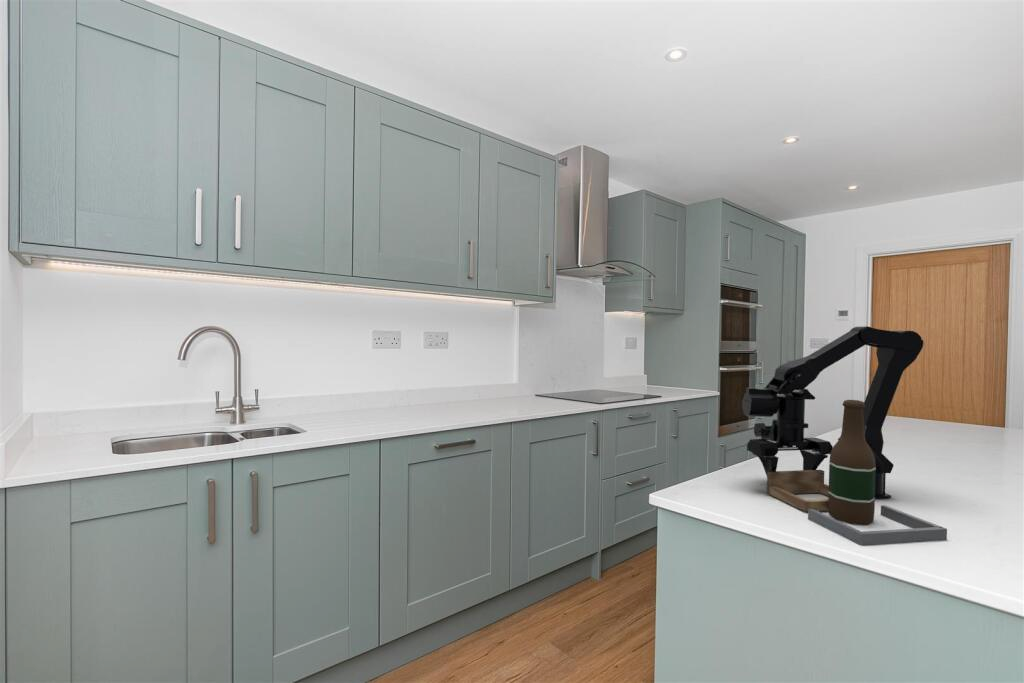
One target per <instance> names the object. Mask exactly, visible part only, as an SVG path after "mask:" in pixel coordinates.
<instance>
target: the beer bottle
mask: <svg viewBox="0 0 1024 683" xmlns="http://www.w3.org/2000/svg"><path fill="white" fill-rule="evenodd" d="M864 402H865V401H862V400H858V399H857V400H856V399H846V400H844V401H843V403H842V406H843V415H842V417H843V418H842V425H841V426H842V427H841V432H840V433H841V434H840V436H841V437H840V436H839V438H840V439H839V438H838V439H839V441H838V440H837V441H836V442H835V444H834V445H833V449H832V451H831V453H830V454H829V463H828V468H829V469H828V485H829V495H827V496H828V497H827V499H828V510H827V511H828V514H829V516H830V517H831V518H833V519H835V520H838V521H840V522H842V523H846V524H851V525H862V526H863V525H864V526H868V525H870V524H871V523H873V522H874V519H875V506H876V505H875V503H876V498H875V476H876V464H875V457H874V454H873V451H872V449H871V448H870V447H869V445H868V444H867V442H866V440H865V434H864V415H863V408H864V407H865V404H864Z"/></svg>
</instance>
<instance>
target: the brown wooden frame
mask: <svg viewBox="0 0 1024 683" xmlns="http://www.w3.org/2000/svg"><path fill="white" fill-rule="evenodd" d="M815 493H820V494H823V495H825V496H828V495H829V484H826V483H825V470H822V469H816V470H803V469H800V470H779V471H778V470H776V471H770V472H767V476H766V494H768V495H770V496H772V497H775V498H777V499H778V500H781V501H783V502H784V503H787V504H789V505H790V506H793V507H795V508H797V509H799V510H801V511H804V512H808V509H814V510H816V511H818V512H820V511H821V512H822V511H823V512H824V511H829V510H828V498H826V499H822V498H821V499H804V498H803V497H800V496H798V495H796V494H815Z"/></svg>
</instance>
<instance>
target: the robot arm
mask: <svg viewBox="0 0 1024 683" xmlns="http://www.w3.org/2000/svg"><path fill="white" fill-rule="evenodd" d="M924 343H925V342H924V340H923V338H922V336H921V335H920V334H919V333H918V332H916V331H914V330H886V329H885V330H884V329H880V328H874V327H871V326H865V325H864V326H853V328H851V329H850V330H849V331H847V332H845V333H844V334H843V335H841V336H839V337H837V338H836V339H834V340H833V341H831V342H829V343H827V344H825V345H824V346H822V347H821V348H819V349H817V350H815V351H814V352H812V353H810V354H809V355H807V356H803V357H800V358H797V359H794V360H790V361H788V362H786V363H783V364H780V365H779V366H778V367H776V369H775V370H774V375H773V377H772V378H771V380H769V382H768V383H767V384H766V385H765V387H764V388H754V387H746V389H745V393H744V394H743V397H742V400H741V407H742V412H743V414H744V416H746V417H766V418H770V417H774V415H776V419H775V418H774V419H773V420H772V421H771V422H772V424H771V425H766V424H765V423H764V422H757V423H754V425H753V427H754V428H753V432H754V436H755V437H760V438H751V439H749V440H748V442H747V443H746V444H747V445H746V450H747V451H748V452H751V453H752V455H754V456H756V457H757V458H758V459H759V460H760V462H761V464H762V467H763V469H764V473H765V475H766V477H767V472H770V471H777V468H778V463H779V456H776V455H777V454H778V453H779V452H785V451H786V452H787V451H799V452H800V454H801V457H802V458H803V459H802V461H803V462H802V470H818V468H819V466H820V465H821V463H822V462H823V461H824V460H825V459H828V457H829V456H828V455H830V453H831V451H832V449H833V447H834V445H833V444H832V443H831V442H830V441H828V440H825V439H822V438H817V437H805V429H809V423H806V422H805V418H806V417H805V416H806V415H805V413H806V409H805V408H806V400H813V401H815V399H816V397H815V395H813V394H812V393H811V392H810V391H809V389H807V387H808V386H809V385H810V384H812V383H813V382H814V381H815V380H816V379H817V378H818V377H819V375H820V374H821V373H822V372H823V371H824V370H825V369H827V368H829V367H830V366H832V365H834V364H836V363H837V362H839V361H841V360H842V359H845V357H847V356H849V355H850V354H851V355H852V353H854V352H856V351H857V350H859V349H860V348H862V347H865V346H868V347H873V348H876V352H875V353H876V354H875V355H876V357H877V358H876V360H877V363H878V364H877V368H876V371H875V373H874V376H873V378H872V380H871V383H870V386H869V389H868V392H867V394H866V397H865V399H864V401H863V402H864V404H865V407H864V408H863V415H864V434H865V440H866V442H867V444H868V445H869V447H870V448H871V449H872V451H873V454H874V457H875V464H876V476H875V499H891V498H892V495H891V494H888V493H886V479H887V478H886V475H887V474H892V471H893V468H894V463H893V462H891V460H889V459H888V457H886V455H884V454H883V448H884V436H883V431H882V430H883V426H884V423H885V420H886V418H887V415H888V413H889V410H890V408H891V405H892V403H893V400H894V397H895V394H896V391H897V389H898V386H899V384H900V381H901V379H902V376H903V374H904V372H905V370H906V369H907V368H908V367H910V366H911V365H912V364H913V363H914V362H915V361H916V359H917V358H918V357H919V354H920V353H921V352H922V350H923V348H924ZM840 437H841V435H840V436H839V437H838V438H837V442H838V441H839V439H840Z"/></svg>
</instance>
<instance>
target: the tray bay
mask: <svg viewBox="0 0 1024 683" xmlns="http://www.w3.org/2000/svg"><path fill="white" fill-rule="evenodd" d="M880 516H882V517H884V518H887V519H889V520H892V521H894V522H897V523H899V524H901V525H904V526H906V527H909V528H901V529H885V530H884V529H883V530H880V529H879V530H866V531H862V530H859V529H856V528H855V527H853V526H851V525H848V524H847V523H845V522H843V521H839V520H836V519H835V518H834V517H832V516H830V515H827V514H825V513H823V512H820V511H816V510H814V509H808V511H807V519H808V520H809V521H811V522H813V523H816V524H817V525H819V526H821V527H823V528H825V529H827V530H830V531H831V532H833V533H835V534H838V535H839V536H842V537H844V538H845V539H848V540H850V541H852V542H853V543H855V544H858V545H860V546H873V545H874V546H875V545H885V544H901V543H902V544H903V543H904V544H905V543H916V542H917V543H918V542H931V541H932V542H933V541H947V540H948V538H947V537H948V528H945V527H943V526H941V525H938V524H935V523H932V522H930V521H927V520H925V519H922V518H920V517H917V516H916V515H915V516H914V515H912V514H910V513H906V512H904V511H902V510H899V509H896V508H894V507H891V506H888V505H885V504H883V505H882V504H881V505H880Z"/></svg>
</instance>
